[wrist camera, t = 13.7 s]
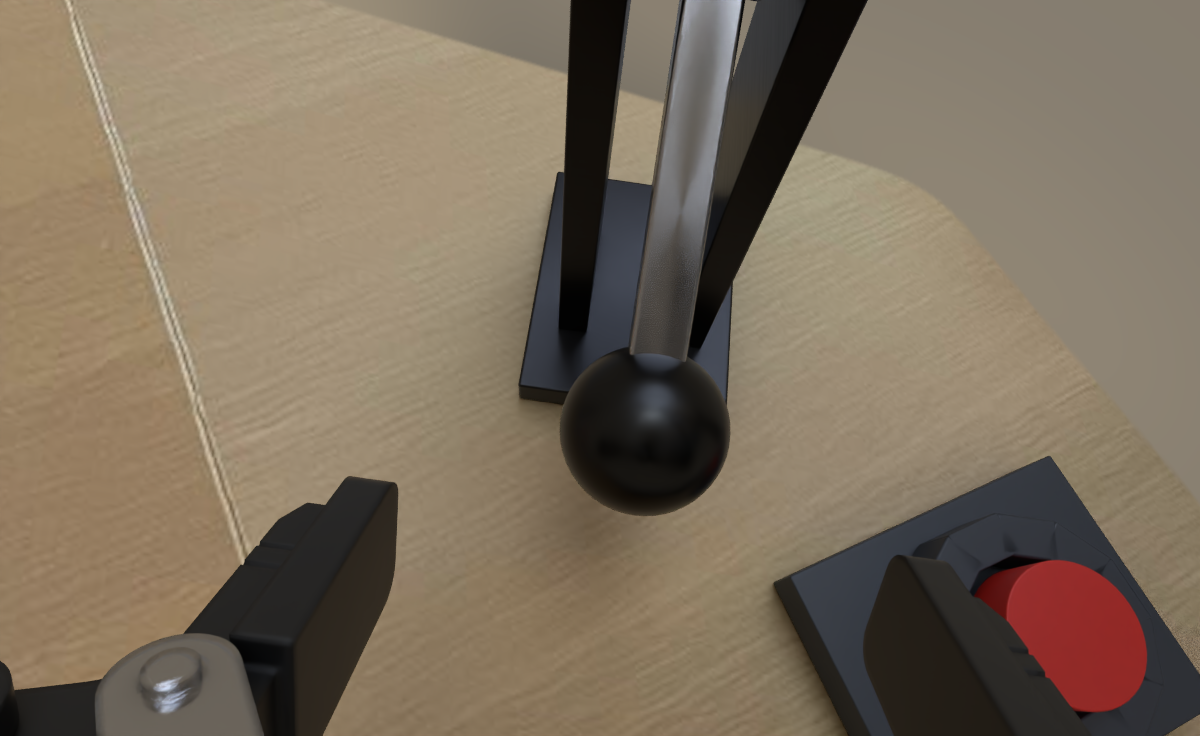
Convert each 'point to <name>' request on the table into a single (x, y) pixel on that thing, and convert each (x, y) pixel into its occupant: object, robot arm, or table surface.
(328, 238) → the table surface
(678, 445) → the lever
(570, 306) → the bracket
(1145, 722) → the control block
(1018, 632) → the button
